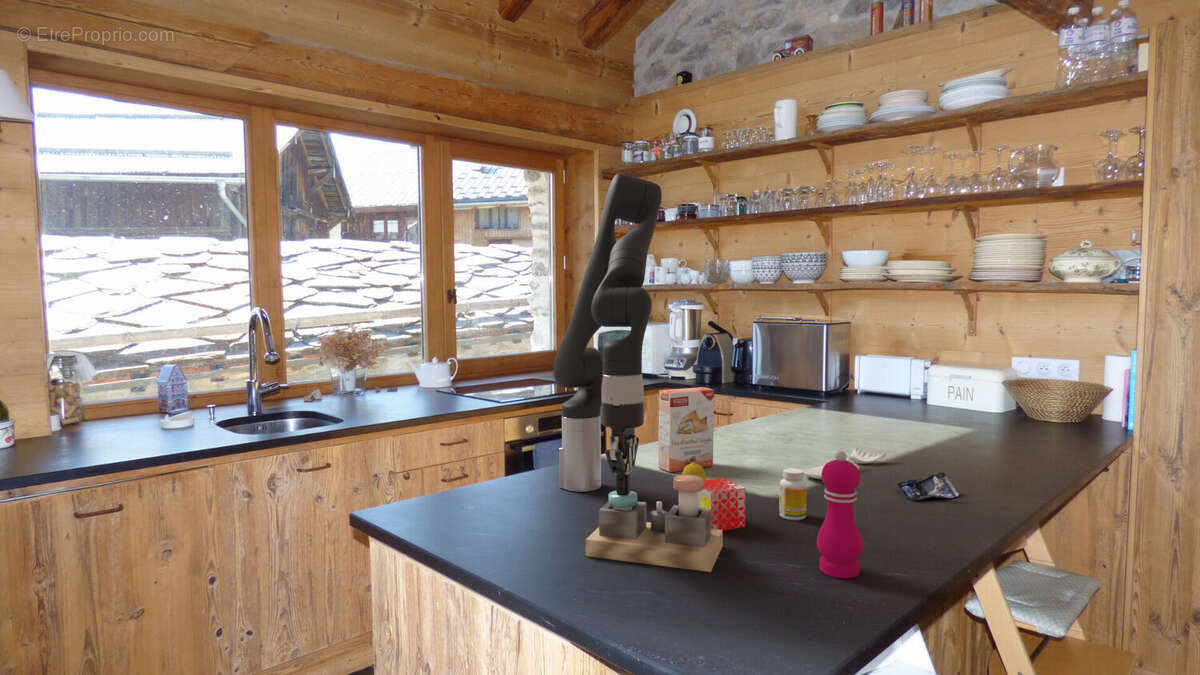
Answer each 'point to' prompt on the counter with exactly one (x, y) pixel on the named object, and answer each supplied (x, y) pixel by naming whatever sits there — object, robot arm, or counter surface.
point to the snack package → (928, 487)
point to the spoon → (854, 457)
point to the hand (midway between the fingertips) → (623, 494)
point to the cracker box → (686, 428)
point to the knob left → (623, 500)
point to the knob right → (688, 494)
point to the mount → (656, 538)
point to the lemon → (694, 470)
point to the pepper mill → (840, 520)
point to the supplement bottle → (792, 495)
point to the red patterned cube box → (723, 503)
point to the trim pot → (658, 519)
